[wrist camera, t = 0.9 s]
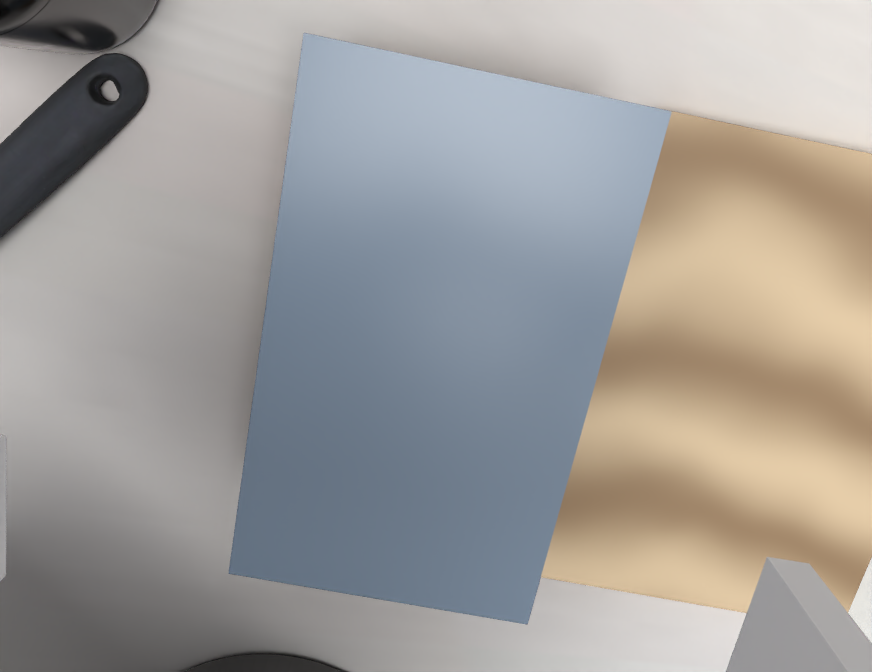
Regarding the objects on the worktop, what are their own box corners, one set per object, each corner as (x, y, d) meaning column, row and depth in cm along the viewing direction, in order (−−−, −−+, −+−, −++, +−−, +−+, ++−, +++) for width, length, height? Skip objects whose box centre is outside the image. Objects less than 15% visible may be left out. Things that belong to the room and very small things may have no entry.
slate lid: (515, 557, 30) (527, 624, 26) (255, 512, 30) (228, 573, 26) (635, 109, 25) (671, 111, 21) (324, 43, 24) (303, 32, 21)
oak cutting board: (824, 608, 36) (840, 629, 34) (533, 557, 35) (538, 576, 33) (1001, 183, 30) (1029, 187, 28) (657, 110, 29) (668, 110, 27)
